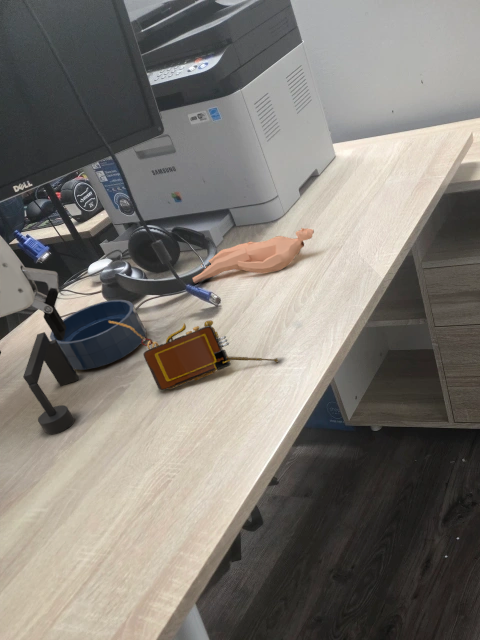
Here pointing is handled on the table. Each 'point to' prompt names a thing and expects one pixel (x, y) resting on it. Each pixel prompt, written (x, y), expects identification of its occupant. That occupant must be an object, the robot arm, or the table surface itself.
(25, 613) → the table surface
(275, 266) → the male figurine
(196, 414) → the table surface
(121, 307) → the bowl
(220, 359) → the brown box with rod
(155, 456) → the table surface
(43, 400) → the articulated desk lamp
